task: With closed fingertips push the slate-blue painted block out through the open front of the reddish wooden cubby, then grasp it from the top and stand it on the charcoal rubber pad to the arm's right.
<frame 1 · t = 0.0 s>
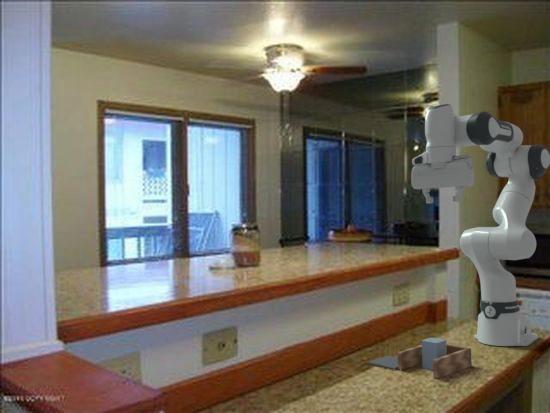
hand: (442, 202, 173), 48 cm above the counter, tool pointing down, fingers open, 8 cm apart
block: (435, 367, 164), resting in cubby
cubby: (433, 368, 164), on the counter
pad: (391, 363, 170), on the counter
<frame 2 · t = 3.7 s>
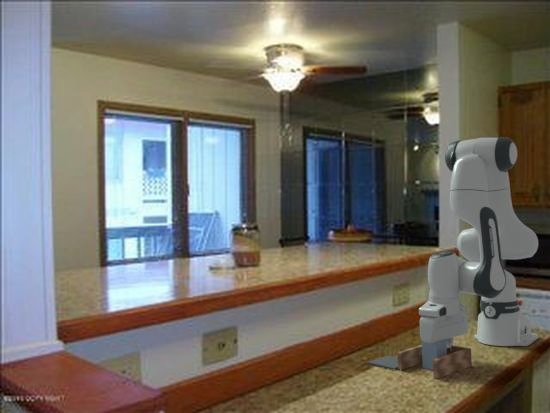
hand: (446, 353, 167), 3 cm above the counter, tool pointing down, fingers closed
block: (435, 367, 164), resting in cubby, touching gripper
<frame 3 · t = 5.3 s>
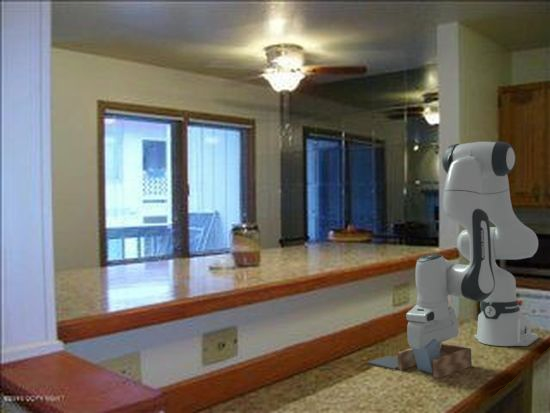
hand: (435, 358, 164), 3 cm above the counter, tool pointing down, fingers closed, pressing on block
block: (430, 367, 163), point 1 cm above the counter, tilted 18°, touching gripper
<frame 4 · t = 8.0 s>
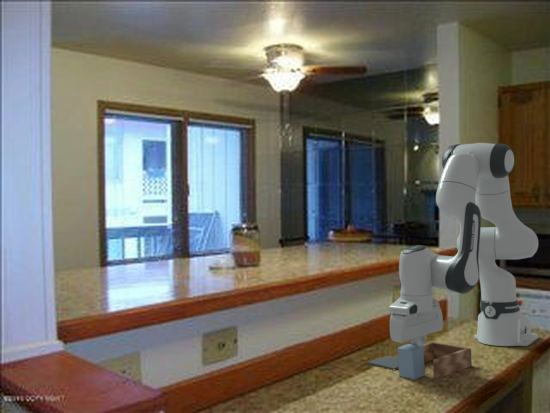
hand: (418, 352, 161), 6 cm above the counter, tool pointing down, fingers closed
block: (412, 375, 157), on the counter
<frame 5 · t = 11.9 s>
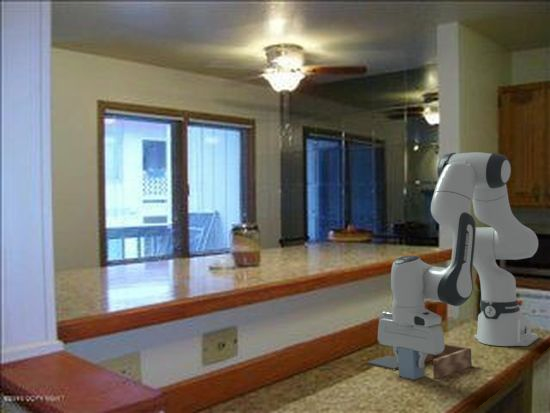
hand: (410, 365, 157), 3 cm above the counter, tool pointing down, fingers closed on block, 5 cm apart
block: (411, 376, 157), on the counter, touching gripper
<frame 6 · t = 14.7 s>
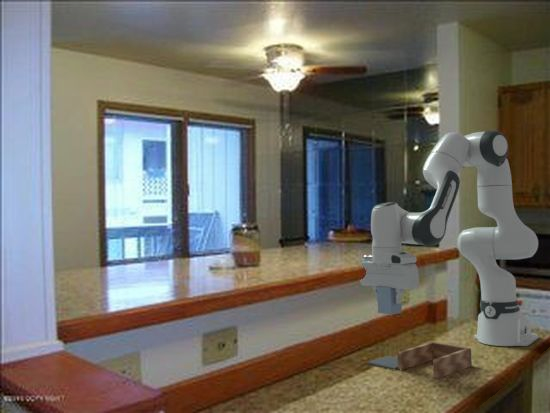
hand: (388, 302, 170), 18 cm above the counter, tool pointing down, fingers closed on block, 5 cm apart
block: (389, 312, 171), point 15 cm above the counter, touching gripper
when the fingers open (5 cm above the counter, at t = 17.4 s): block drops 1 cm, resting on pad.
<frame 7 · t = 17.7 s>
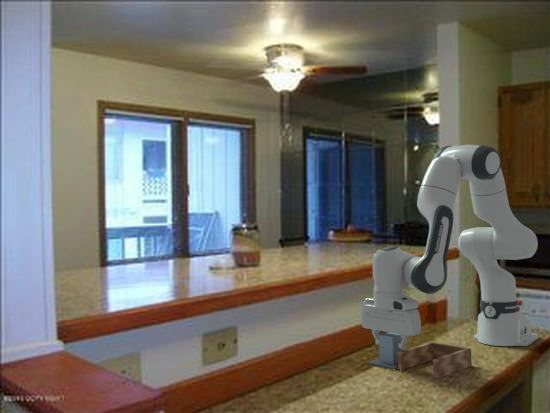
hand: (390, 346, 170), 5 cm above the counter, tool pointing down, fingers open, 7 cm apart
block: (391, 361, 171), point 1 cm above the counter, touching pad
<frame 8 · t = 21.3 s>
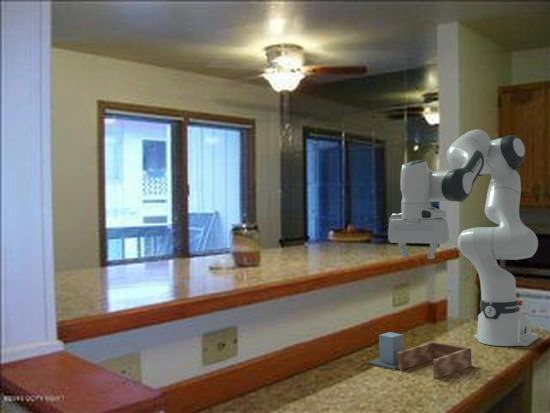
hand: (418, 257, 174), 31 cm above the counter, tool pointing down, fingers open, 8 cm apart
nothing on the counter moved.
at the end: block inside the target area on the pad (0.4 cm from its centre), point 0.6 cm above the pad's base; block tilted 0°; the gripper is holding nothing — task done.
